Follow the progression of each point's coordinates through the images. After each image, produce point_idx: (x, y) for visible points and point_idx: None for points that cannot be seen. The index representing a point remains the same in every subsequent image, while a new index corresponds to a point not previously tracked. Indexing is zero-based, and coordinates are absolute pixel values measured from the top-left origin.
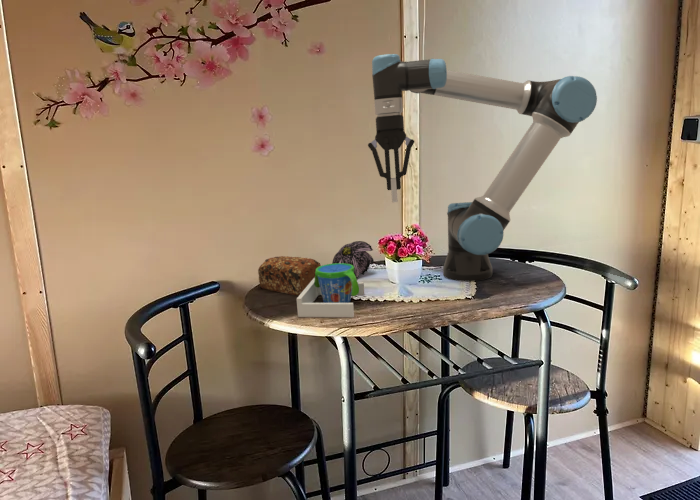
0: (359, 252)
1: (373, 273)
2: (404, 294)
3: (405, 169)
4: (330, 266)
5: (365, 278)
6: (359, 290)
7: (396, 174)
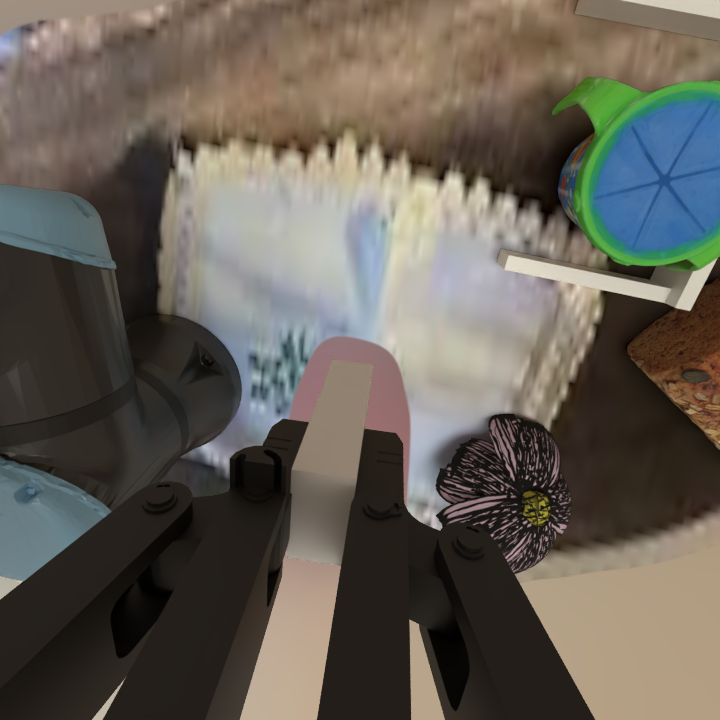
0: (489, 493)
1: (436, 460)
2: (372, 230)
3: (112, 535)
4: (675, 235)
5: (467, 419)
6: (517, 254)
7: (268, 508)
